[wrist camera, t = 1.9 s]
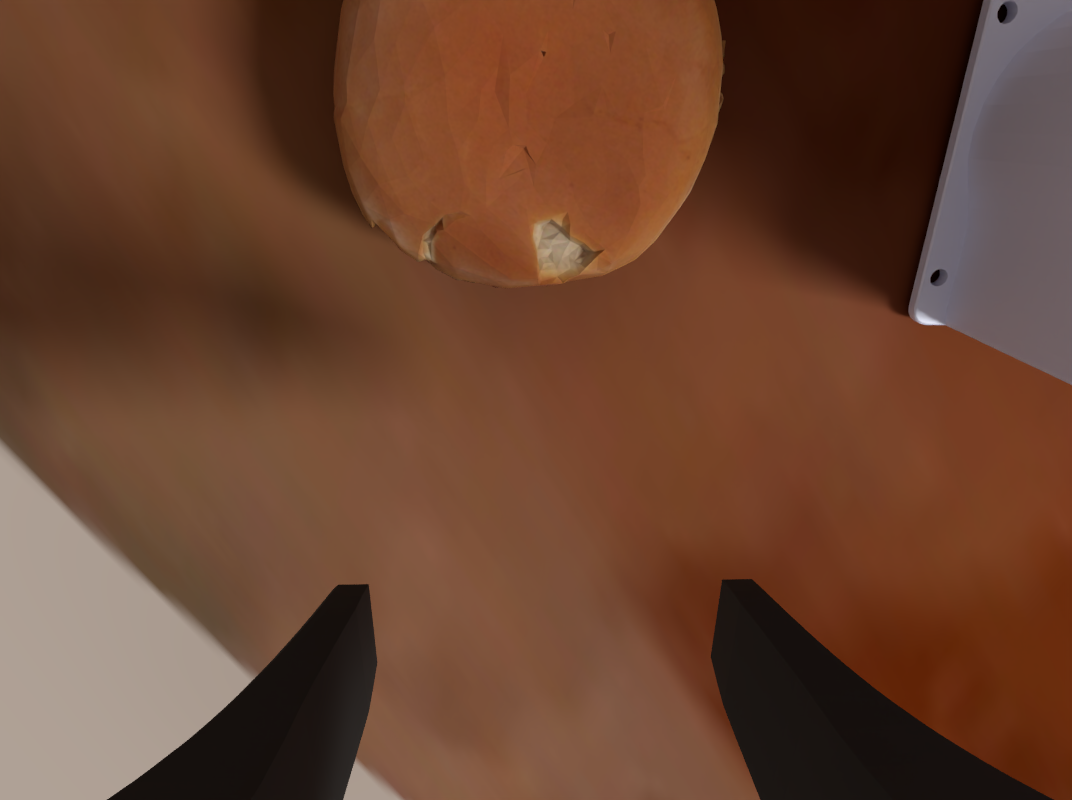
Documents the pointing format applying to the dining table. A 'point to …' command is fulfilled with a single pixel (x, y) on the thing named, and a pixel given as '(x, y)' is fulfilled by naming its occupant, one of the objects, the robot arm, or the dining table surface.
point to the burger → (525, 128)
